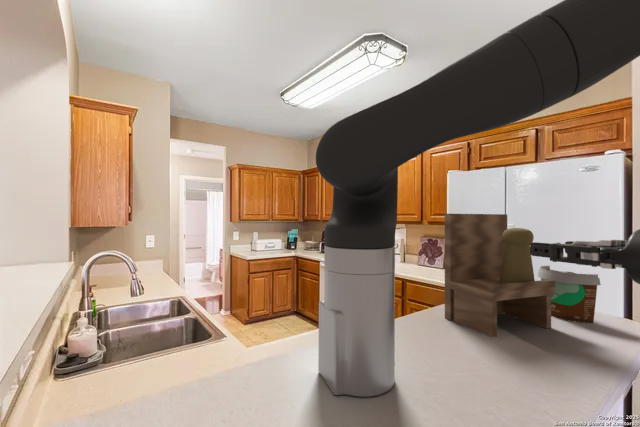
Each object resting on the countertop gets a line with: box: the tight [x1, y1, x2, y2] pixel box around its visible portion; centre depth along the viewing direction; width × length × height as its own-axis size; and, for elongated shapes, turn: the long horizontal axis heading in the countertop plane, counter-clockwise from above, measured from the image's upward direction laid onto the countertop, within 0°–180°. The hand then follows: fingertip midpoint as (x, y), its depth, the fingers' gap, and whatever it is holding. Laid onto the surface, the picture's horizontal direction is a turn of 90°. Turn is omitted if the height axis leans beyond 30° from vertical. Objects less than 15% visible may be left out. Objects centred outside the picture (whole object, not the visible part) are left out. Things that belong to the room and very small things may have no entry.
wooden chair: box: [444, 213, 555, 338], centre depth 61 cm, size 16×12×22 cm
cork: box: [499, 227, 536, 284], centre depth 60 cm, size 6×6×11 cm
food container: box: [537, 265, 601, 324], centre depth 66 cm, size 12×6×10 cm, turn 6°
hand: (549, 248), depth 51 cm, fingers open, 8 cm apart
